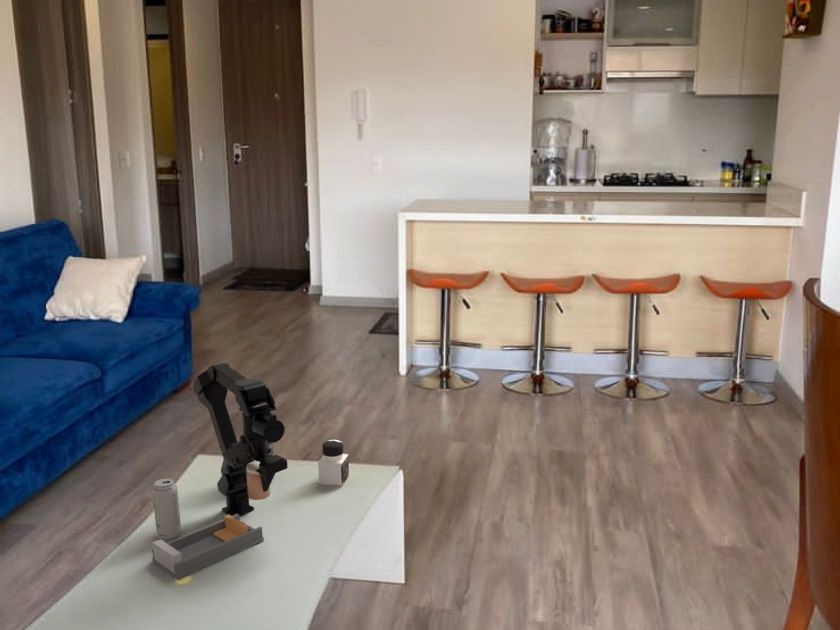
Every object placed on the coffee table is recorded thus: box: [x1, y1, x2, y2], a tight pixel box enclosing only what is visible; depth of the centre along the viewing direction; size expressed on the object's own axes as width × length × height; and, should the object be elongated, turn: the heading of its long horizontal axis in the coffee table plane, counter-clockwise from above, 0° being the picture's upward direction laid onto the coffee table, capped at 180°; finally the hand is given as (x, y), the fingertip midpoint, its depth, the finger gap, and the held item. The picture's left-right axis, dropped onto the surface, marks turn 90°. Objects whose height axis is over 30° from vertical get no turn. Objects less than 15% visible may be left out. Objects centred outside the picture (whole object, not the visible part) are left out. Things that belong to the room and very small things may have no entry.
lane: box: [151, 514, 265, 580], centre depth 196 cm, size 12×24×6 cm, turn 136°
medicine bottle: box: [317, 439, 350, 487], centre depth 233 cm, size 7×7×12 cm
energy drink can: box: [152, 477, 182, 542], centre depth 202 cm, size 6×6×15 cm
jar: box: [246, 461, 271, 501], centre depth 204 cm, size 6×6×8 cm
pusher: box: [213, 514, 249, 542], centre depth 200 cm, size 8×5×4 cm, turn 46°
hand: (258, 487), depth 205 cm, fingers closed on jar, 6 cm apart
